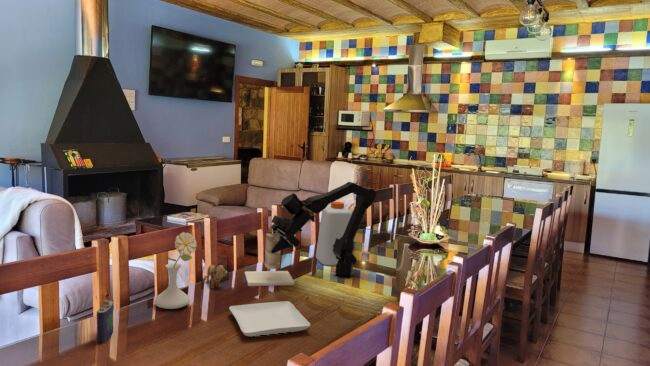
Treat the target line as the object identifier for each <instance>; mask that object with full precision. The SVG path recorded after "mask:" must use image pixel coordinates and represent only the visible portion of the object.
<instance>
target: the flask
mask: <svg viewBox="0 0 650 366" xmlns="http://www.w3.org/2000/svg"><path fill="white" fill-rule="evenodd" d="M113 333H114V301H113V300H111V299H110V300H106V299H104V300H103V305H102V306H101V307H100V308H99V309H98V310H97V311H96V343H97V344H98V343H99V345H101V344H102V345H103V344H106V343H107V342H108V341H109V340H110V339H111V338H112V335H113Z"/></svg>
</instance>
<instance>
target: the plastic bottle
mask: <svg viewBox="0 0 650 366" xmlns="http://www.w3.org/2000/svg"><path fill="white" fill-rule="evenodd" d="M352 213H353V211H351V210H350V209H348V208H347V207H345V203H344V202H342V201H334V202H332V203H330V206H327V207H326V208H325V209H324V210H322V211H321V215H320V216H321V217H320V221H319V222H320V223H319V230H318V237H317V243H316V252H315V259H317V261H319V262H320V264H322V265H324V266H327V267H328V266H329V267H331V266H332V267H333V266H334V267H336V264H337V262H338V259H336V256H335V255H334V253H333V247H332V246H333V245H334V243H335V240H336V238H338V239H340V238H341V237H342V236H343V234H344V232H345V229H346V227H347V225H348V222H349V220H350V218H351V215H352Z"/></svg>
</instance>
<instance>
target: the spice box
mask: <svg viewBox="0 0 650 366" xmlns="http://www.w3.org/2000/svg"><path fill="white" fill-rule="evenodd" d="M265 235H266V236H265V247H264V248H265V251H264V253H265V254H264V266H265V268H266V269H268V270H274V269H276V270H277V269H280V268H281V253H282V250H280V251H278V252H275V253H272V252H271V251H272V249H273V248H274V247H275V245H276V244H277V243H278V242H279V240H280V235H279V234H278V233H273V232H272V233H266V234H265Z"/></svg>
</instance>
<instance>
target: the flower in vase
mask: <svg viewBox="0 0 650 366" xmlns="http://www.w3.org/2000/svg"><path fill="white" fill-rule="evenodd" d="M196 248H197V240H196V238H195V237H193V234H192V233H189V232H185V231H182V232H181V233H180V234H179V235H177V236H175V241H174V249H176V251H177V252H178V253H179V256H178V258H177V259H175V258H171V257H169V256H166V259H168V260H170V261H174V262H175V263H167V264H165V268H166V269H167V272H168V278H169V279H168V280H169V281H168V286H167V288H165V289H164V290H163V291H162V292H161V293H159V294H158V295H156V297H155V299H154V301H153V302H154V305H155V306H157V307H159V308H160V309H167V310H168V309H169V310H172V309H175V310H176V309H180V308H182V307H183V308H184V307H185V306H187V305H189V303H190V300H191V299H190V296H189V295H188V294H187V293H185V292H184V291H183V290H182V289H180V288H179V287H178V285H177V278H178V277H177V275H178V272H179V270H180V268H181V267H182V265H181V263H178V261H179V259H181V260H182V261H184V262H188V261H190V260H191V259H193V257H192V256H191V254H193V253H195V251H196V252H197V249H196Z"/></svg>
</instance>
